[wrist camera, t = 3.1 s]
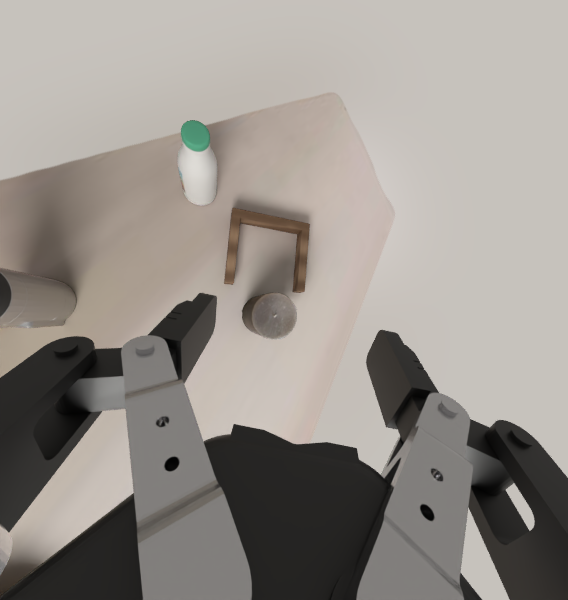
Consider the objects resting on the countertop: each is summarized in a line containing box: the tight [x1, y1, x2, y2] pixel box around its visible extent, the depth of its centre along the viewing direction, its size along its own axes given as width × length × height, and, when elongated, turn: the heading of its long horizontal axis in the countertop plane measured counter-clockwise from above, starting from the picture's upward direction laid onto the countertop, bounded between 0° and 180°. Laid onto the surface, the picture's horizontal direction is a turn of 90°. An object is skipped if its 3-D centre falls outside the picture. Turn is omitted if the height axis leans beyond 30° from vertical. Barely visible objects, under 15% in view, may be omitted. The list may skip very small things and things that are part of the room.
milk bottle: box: [178, 120, 217, 206], centre depth 50 cm, size 8×8×20 cm
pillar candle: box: [242, 293, 297, 339], centre depth 55 cm, size 10×10×15 cm
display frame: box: [224, 208, 310, 293], centre depth 62 cm, size 18×20×4 cm
